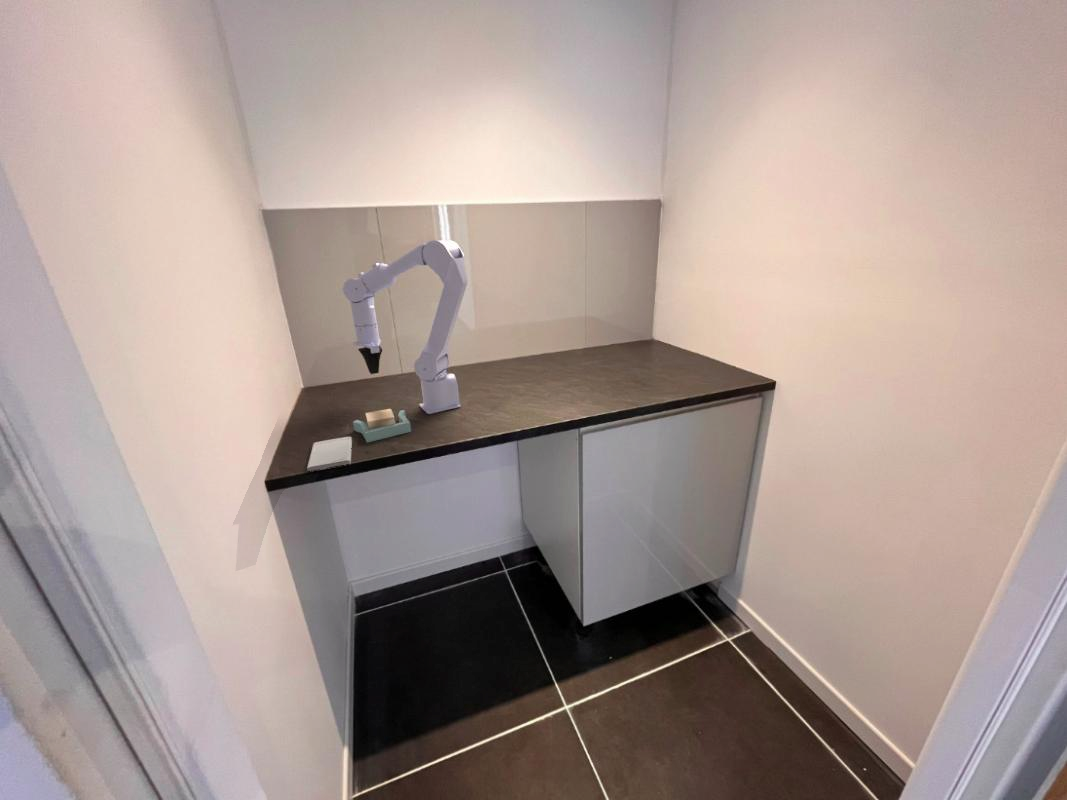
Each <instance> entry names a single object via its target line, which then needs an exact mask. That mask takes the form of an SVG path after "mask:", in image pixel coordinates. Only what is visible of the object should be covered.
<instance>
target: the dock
mask: <svg viewBox="0 0 1067 800" xmlns="http://www.w3.org/2000/svg"><path fill="white" fill-rule="evenodd" d="M397 416H398V422H395V424H392V425H388V426H384V427H379V428H375V429H371V430H369V428H368V424H367V422H364V421H363V420H362V421H361V420H359V419H355V420H354V421H352V423H353V429H354V431H355V432H357V433H360V434H362V436H363V438H364V439H365V442H366V443H371V442H375V441H378V440H384V439H387V438H391V437H395V436H399V435H404V434H407V433H412V427H411V422H410V420H409V419H408V418H407V417H406V416H407V414H406V409H402V410H401V409H400V410H399V412H398V415H397Z"/></svg>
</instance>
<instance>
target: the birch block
mask: <svg viewBox="0 0 1067 800" xmlns="http://www.w3.org/2000/svg"><path fill="white" fill-rule="evenodd" d="M365 417H366V425H367V427H368V428H369V430H371V429H375V428H379V427H384V426H388V425H392V424H396V418H395V416H394V412H393V410H392V409H391V408H387V409H380V410H375V411H370V412H369V411H368V412H365Z"/></svg>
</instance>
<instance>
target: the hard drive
mask: <svg viewBox="0 0 1067 800" xmlns="http://www.w3.org/2000/svg"><path fill="white" fill-rule="evenodd" d="M352 444H353V438H352V436H343V437H337V438H332V439H325V440H322V441H320V440H319V441H316V442H313V443H312V448H311V451H310V455H309V459H308V462H307V467H306V471H307V470H311V469H320V470H319V471H321V470H327V468H328V469H330V468H329V467H333V466H338V465H344V466H347V465H346V464H349V465H351V463H352V462H351V461H352V449H351V448H352ZM333 468H334V467H333Z"/></svg>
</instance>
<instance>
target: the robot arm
mask: <svg viewBox="0 0 1067 800" xmlns="http://www.w3.org/2000/svg"><path fill="white" fill-rule="evenodd" d="M418 266H428V267H429V268H430V269H431V270H432V271H433V272H434V273H435V274H436V275H437V276H438V277H439V278H440V279H439V280H441V282H442V283H443V288H442V291H441V295H440V298H439V301H438V305H437V308H436V312H435V316H434V319H433V323H432V326H431V331H430V332H429V333H430V334H429V337H428V339H427V340H428V341H427V343H425V344H426V345H425V346H424V347H423V348H422V350H421V353H420V356H419V357H417V359H416V360H415V362H414V363H413V364H414V365H413V369H414V372H415V374H416V376H417V377H418V378H419V381H420V387H421V395H422V401H423V402H422V403H419V404H418V406H419V407H420V408H421V409H422V410H423V411H424V412H425V413H426V414H427V415H432V414H435V413H439V412H445V411H447V410H448V411H449V410H451V409H457V408H461V407H462V406H461V404H460V394H459V385H458V384H459V383H458V381H457V378H456V376H455V374H454V373H447V368H448V367H449V364H450V358H449V357H450V356H449V354H450V350H451V349H450V347H449V343H450V340H451V337H452V334H453V331H454V327H455V324H456V321H457V318H458V315H459V311H460V309H461V304H462V301H463V299H464V295H465V293H466V292H465V291H466V289H467V286H468V278H467V272H466V267H465V253H463V251H462V249H461V248H460V246H459V245H458V243H457V242H456V241H454V240H451V239H446V240H436V239H435V240H434V239H433V240H429V241H427V243H424V244H420V245H418V246H416V247H415V248H414V249H412V250H410V251H409V252H407V253H406V254H404V255H403V256H401V257H399V258H398V259H396V260H395V261H393V262H392V263H389V265H388V264H386V263H379V262H378V263H377V262H376V263H374V264H372V268H370V269H369V270H367V271H365V272H363V271H362V272H359V273H358V277H357V278H356V277H355V278H352V277H351V278H348V279H347V280H346V281H345V282H344V284H343V287H342V291H343V295H344V297H345V298H346V299H347V300H348V301H349V302H350V303H349V304H350V308H351V313H352V319H353V324H354V329H355V335H356V340H357V341H353V342H352V345H353V346H354V347H357V346H358V347H360V348H358V349H357V350H358V352H359V353H360V354H361V356H362V358H363V360H364V362H365V364H366V367H367V369H368V372H369V373H370V375H374V374H379V372H380V359H381V355H382V353H383V348H382V347H381V346H380V345H381V342H382V341H381V339H380V334H379V327H378V320H377V314H376V309H375V308H376V307H375V297H376V295H378V294H379V293H381V292H382V291H385V290H386V289H388V288H390V287H392V286H394V285H395V284H396V282H397V277H399V276H401V275H402V274H403V275H404V274H405V273H407V272H408V271H411V270H413V269H415V268H416V267H418Z"/></svg>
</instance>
